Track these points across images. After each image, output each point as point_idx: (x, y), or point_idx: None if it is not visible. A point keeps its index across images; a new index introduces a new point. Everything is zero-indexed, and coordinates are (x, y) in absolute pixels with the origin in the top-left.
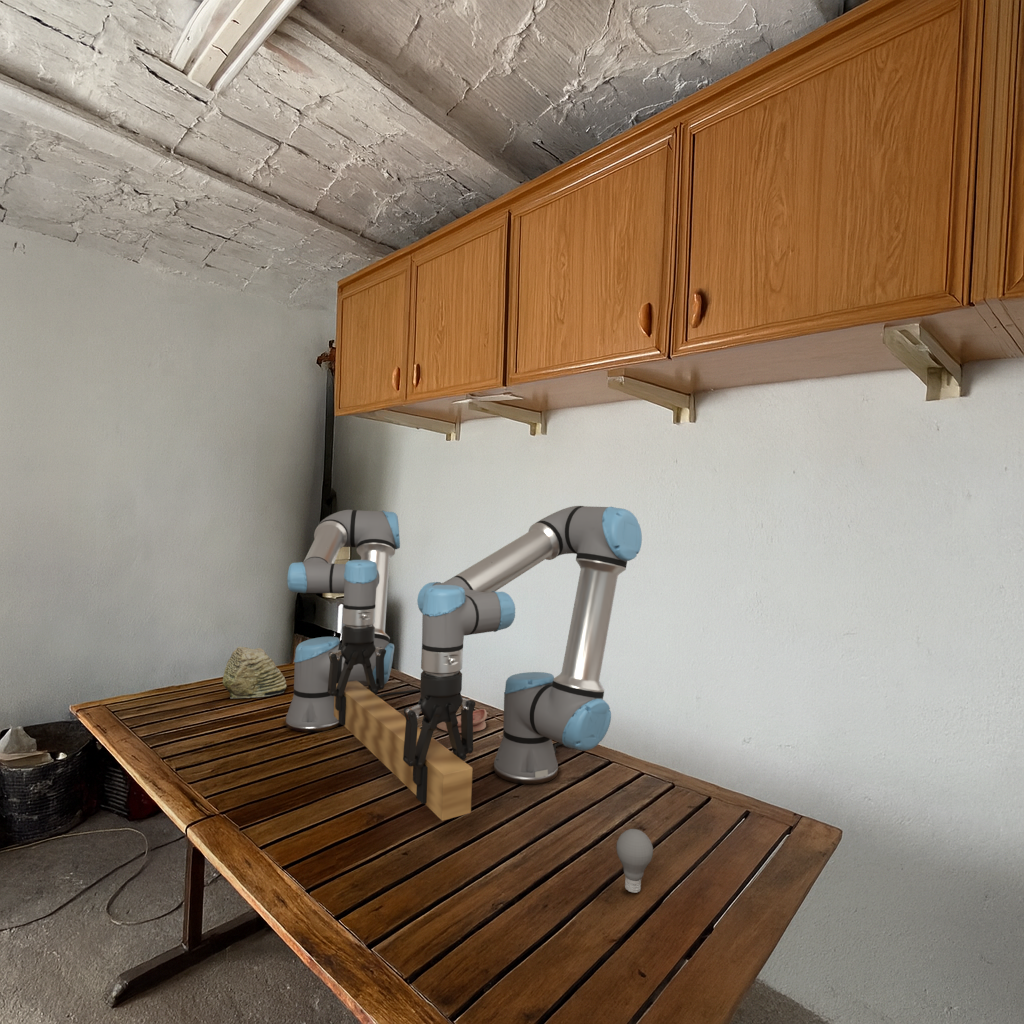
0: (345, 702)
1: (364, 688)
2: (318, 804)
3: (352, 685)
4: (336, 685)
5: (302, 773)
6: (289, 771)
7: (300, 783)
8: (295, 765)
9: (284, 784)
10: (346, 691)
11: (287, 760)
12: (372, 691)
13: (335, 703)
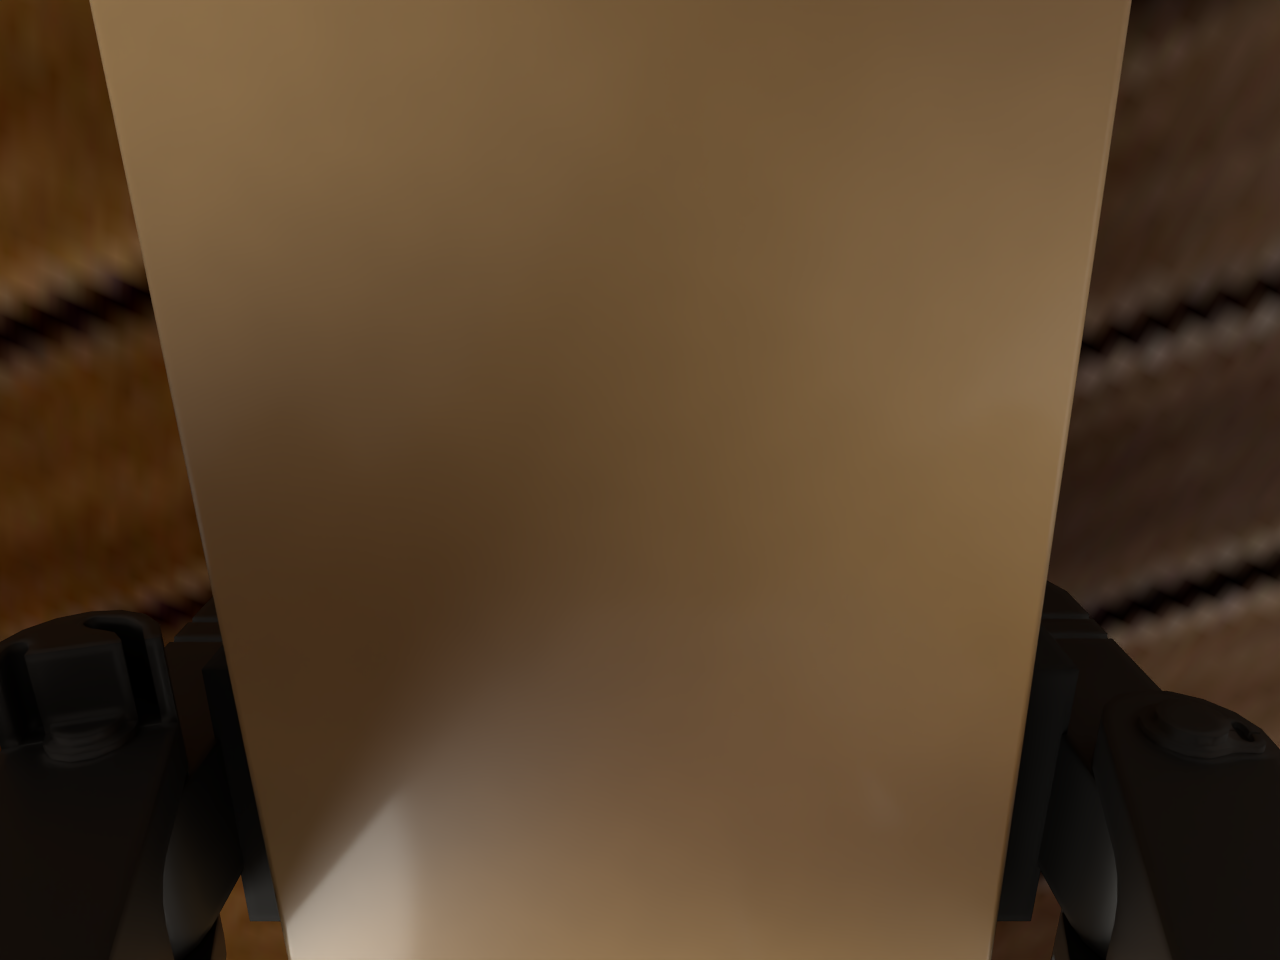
0: None
1: (921, 855)
2: (231, 897)
3: (693, 407)
4: (107, 58)
5: (167, 415)
6: (57, 325)
7: (139, 582)
8: (115, 215)
9: (16, 548)
10: (328, 896)
11: (41, 48)
12: (1056, 956)
13: (179, 648)
